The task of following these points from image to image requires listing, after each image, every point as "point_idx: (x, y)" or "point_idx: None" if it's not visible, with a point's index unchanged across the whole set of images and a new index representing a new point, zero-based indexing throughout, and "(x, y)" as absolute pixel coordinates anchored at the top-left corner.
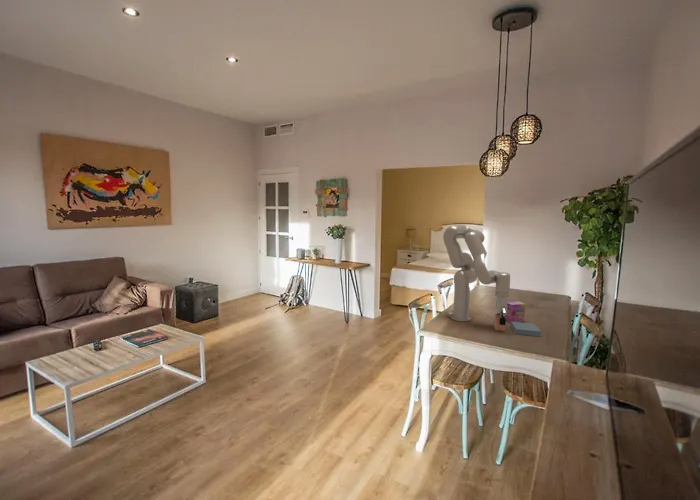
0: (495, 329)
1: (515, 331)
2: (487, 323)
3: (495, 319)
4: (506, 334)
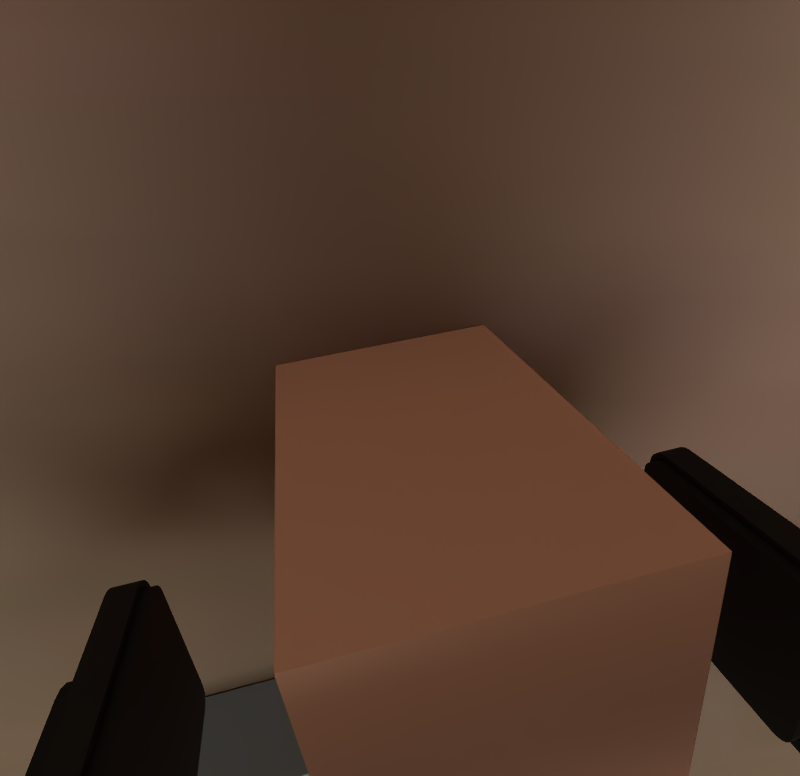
0: (276, 369)
1: (217, 737)
2: (732, 158)
3: (440, 479)
4: (66, 588)
